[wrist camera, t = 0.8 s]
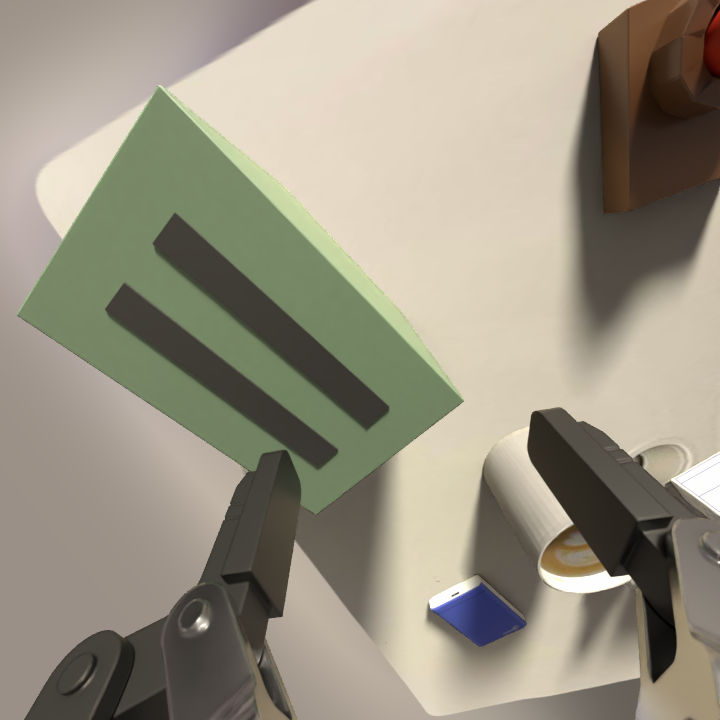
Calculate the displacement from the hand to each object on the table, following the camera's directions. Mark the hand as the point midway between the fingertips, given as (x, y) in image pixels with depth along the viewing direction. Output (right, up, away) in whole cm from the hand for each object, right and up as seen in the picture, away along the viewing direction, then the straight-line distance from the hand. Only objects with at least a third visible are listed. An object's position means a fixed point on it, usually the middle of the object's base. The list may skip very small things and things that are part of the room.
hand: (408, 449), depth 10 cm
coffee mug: (+18, -10, +23) cm, 31 cm away
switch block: (+20, +20, +10) cm, 30 cm away
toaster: (-6, +9, +14) cm, 18 cm away
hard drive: (+15, -32, +32) cm, 48 cm away
